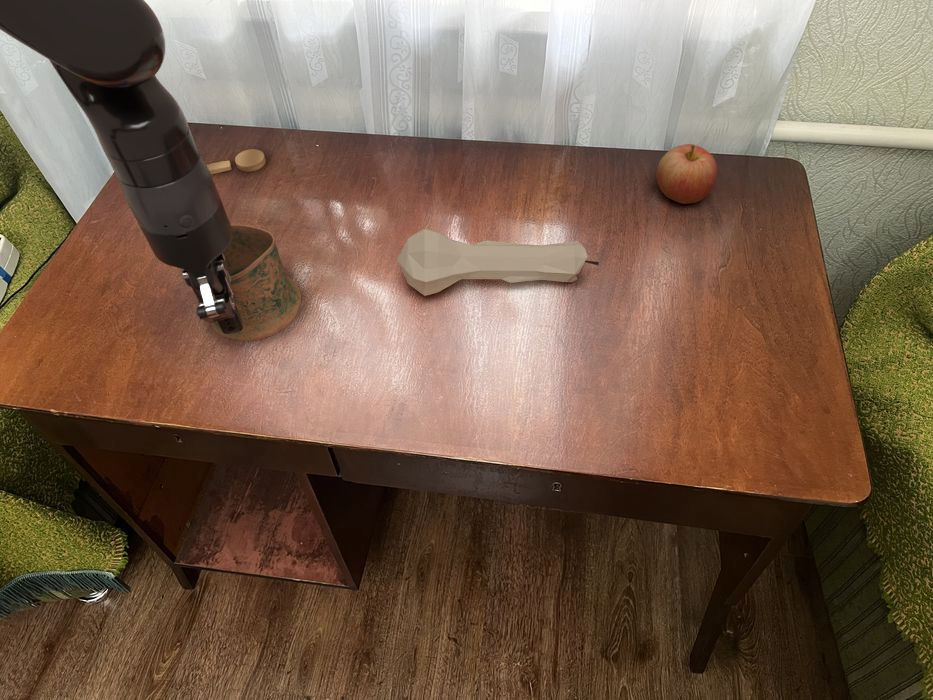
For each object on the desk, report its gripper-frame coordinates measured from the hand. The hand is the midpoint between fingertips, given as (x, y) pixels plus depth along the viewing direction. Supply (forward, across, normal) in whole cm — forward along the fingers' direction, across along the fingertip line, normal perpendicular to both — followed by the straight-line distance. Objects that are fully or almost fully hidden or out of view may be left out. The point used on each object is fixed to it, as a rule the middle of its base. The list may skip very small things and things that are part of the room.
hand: (233, 328), depth 77 cm
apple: (+6, -10, +62) cm, 63 cm away
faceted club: (+6, -2, +32) cm, 33 cm away
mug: (+6, -11, 0) cm, 13 cm away
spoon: (+6, -39, 0) cm, 40 cm away
